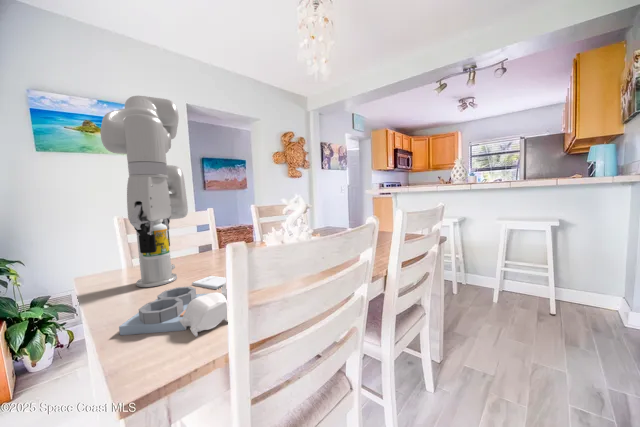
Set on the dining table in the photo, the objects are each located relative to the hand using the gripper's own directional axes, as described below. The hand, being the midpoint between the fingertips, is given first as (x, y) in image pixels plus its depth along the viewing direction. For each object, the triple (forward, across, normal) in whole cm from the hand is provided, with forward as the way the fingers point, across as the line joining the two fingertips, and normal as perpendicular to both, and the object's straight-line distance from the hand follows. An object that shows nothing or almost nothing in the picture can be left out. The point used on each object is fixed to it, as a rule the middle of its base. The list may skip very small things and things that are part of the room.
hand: (156, 248), depth 62 cm
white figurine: (+19, +1, +13) cm, 23 cm away
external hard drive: (+19, -28, +3) cm, 34 cm away
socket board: (+18, -4, 0) cm, 18 cm away
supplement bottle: (+2, 0, 0) cm, 2 cm away
